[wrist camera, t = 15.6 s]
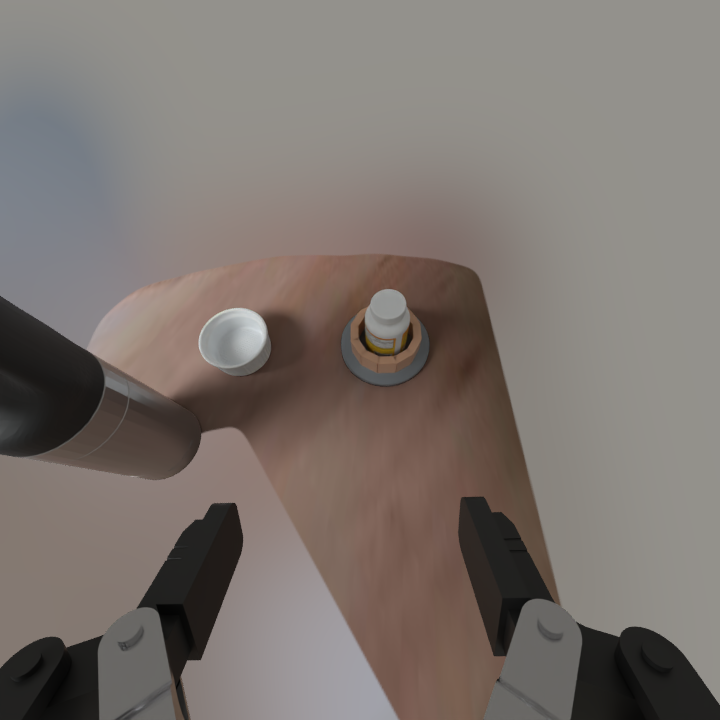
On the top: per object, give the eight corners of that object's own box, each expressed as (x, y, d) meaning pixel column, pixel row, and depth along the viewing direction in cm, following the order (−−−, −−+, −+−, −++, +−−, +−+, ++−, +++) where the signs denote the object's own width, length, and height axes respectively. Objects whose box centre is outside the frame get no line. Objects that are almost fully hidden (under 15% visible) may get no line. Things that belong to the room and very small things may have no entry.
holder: (325, 361, 47) (321, 348, 43) (367, 297, 51) (367, 280, 48) (404, 402, 44) (407, 391, 41) (442, 330, 48) (447, 315, 45)
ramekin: (277, 322, 50) (269, 306, 46) (273, 379, 46) (263, 366, 42) (217, 325, 50) (204, 308, 46) (207, 381, 47) (192, 369, 43)
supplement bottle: (392, 320, 48) (396, 276, 39) (413, 350, 46) (422, 310, 37) (358, 337, 47) (355, 296, 38) (378, 368, 45) (379, 332, 36)
